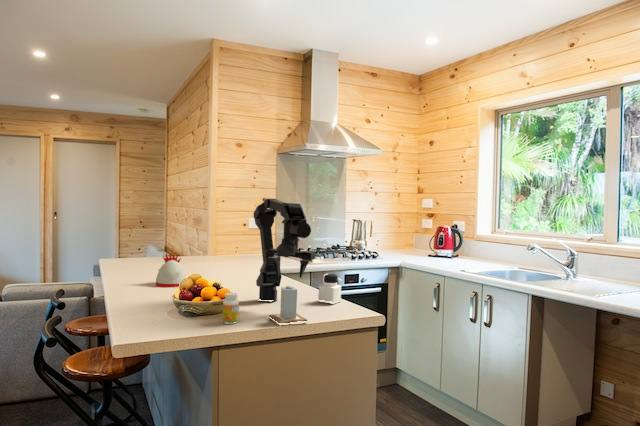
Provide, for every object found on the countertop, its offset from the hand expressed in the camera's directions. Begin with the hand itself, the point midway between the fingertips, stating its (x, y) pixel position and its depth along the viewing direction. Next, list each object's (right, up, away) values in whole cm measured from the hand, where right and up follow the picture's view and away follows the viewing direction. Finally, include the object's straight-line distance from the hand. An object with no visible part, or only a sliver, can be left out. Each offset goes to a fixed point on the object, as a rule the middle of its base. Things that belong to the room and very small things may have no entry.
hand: (289, 276), depth 178 cm
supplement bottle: (-19, -13, -20) cm, 30 cm away
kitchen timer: (-59, -10, +43) cm, 74 cm away
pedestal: (+1, -13, -16) cm, 21 cm away
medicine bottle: (+16, -14, +18) cm, 28 cm away
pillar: (+1, -12, -16) cm, 20 cm away
